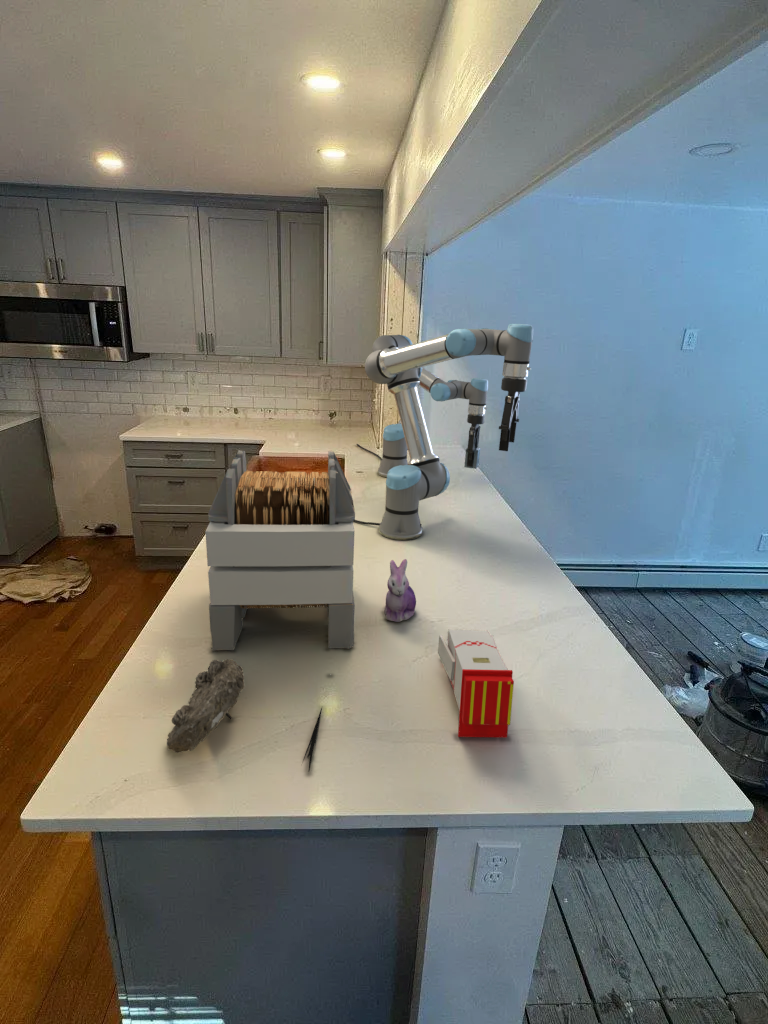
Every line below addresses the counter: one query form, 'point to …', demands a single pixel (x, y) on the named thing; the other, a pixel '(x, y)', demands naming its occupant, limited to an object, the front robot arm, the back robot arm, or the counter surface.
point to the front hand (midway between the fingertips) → (506, 446)
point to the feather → (313, 740)
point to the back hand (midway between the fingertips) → (471, 464)
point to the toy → (478, 682)
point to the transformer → (281, 548)
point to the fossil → (206, 705)
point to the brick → (476, 458)
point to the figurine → (399, 594)
